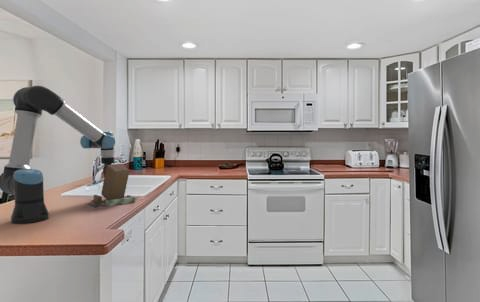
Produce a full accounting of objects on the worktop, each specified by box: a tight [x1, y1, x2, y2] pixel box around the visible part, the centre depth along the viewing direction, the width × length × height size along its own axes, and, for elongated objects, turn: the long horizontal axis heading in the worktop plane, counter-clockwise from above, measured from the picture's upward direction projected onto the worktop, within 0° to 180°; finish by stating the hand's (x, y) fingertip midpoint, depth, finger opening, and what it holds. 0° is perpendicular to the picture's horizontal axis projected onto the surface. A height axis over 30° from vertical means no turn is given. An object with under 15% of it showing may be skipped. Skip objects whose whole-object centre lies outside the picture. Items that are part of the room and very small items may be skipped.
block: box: [100, 163, 130, 200], centre depth 202 cm, size 10×10×20 cm
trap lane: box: [88, 194, 138, 208], centre depth 202 cm, size 27×25×3 cm
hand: (109, 195), depth 210 cm, fingers closed
